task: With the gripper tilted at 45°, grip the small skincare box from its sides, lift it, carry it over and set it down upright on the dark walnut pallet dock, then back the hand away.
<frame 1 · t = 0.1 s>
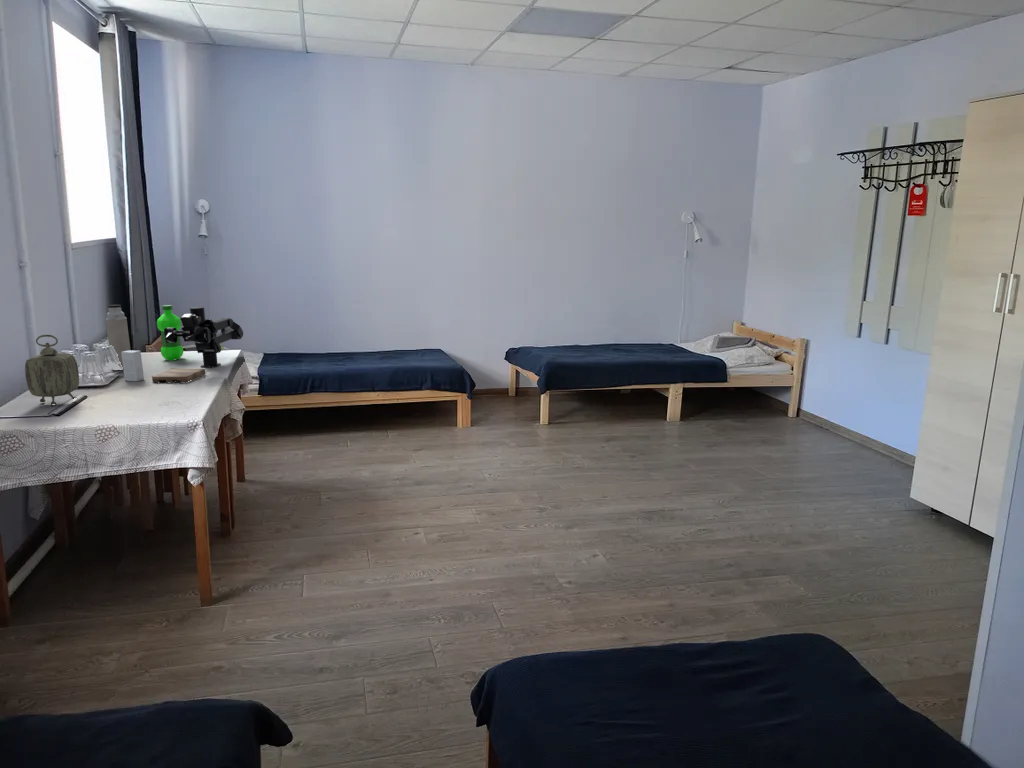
hand: (177, 338, 300), 17 cm above the table, tool horizontal, fingers open, 9 cm apart
plastic bottle: (173, 359, 344), on the table
pallet dock: (179, 378, 305), on the table
thermos bottle: (122, 369, 324), on the table
tabletop clock: (56, 404, 265), on the table
skincare box: (134, 380, 302), on the table
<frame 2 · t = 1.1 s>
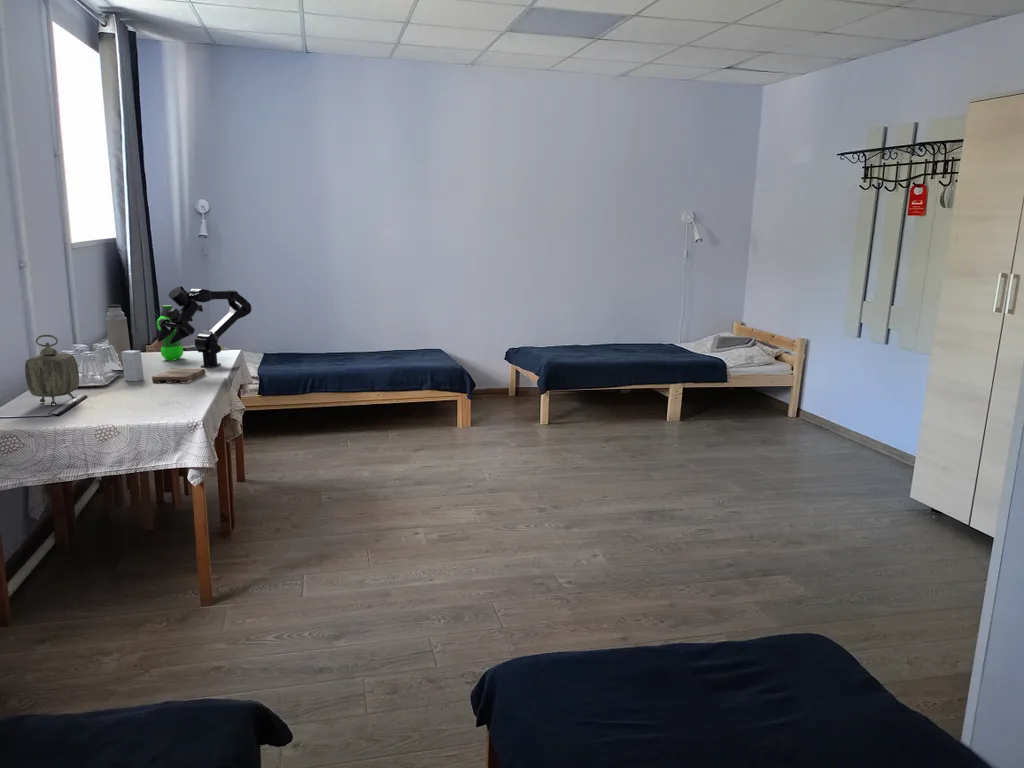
hand: (164, 342, 308), 14 cm above the table, tool tilted 45°, fingers open, 9 cm apart
nothing on the table moved.
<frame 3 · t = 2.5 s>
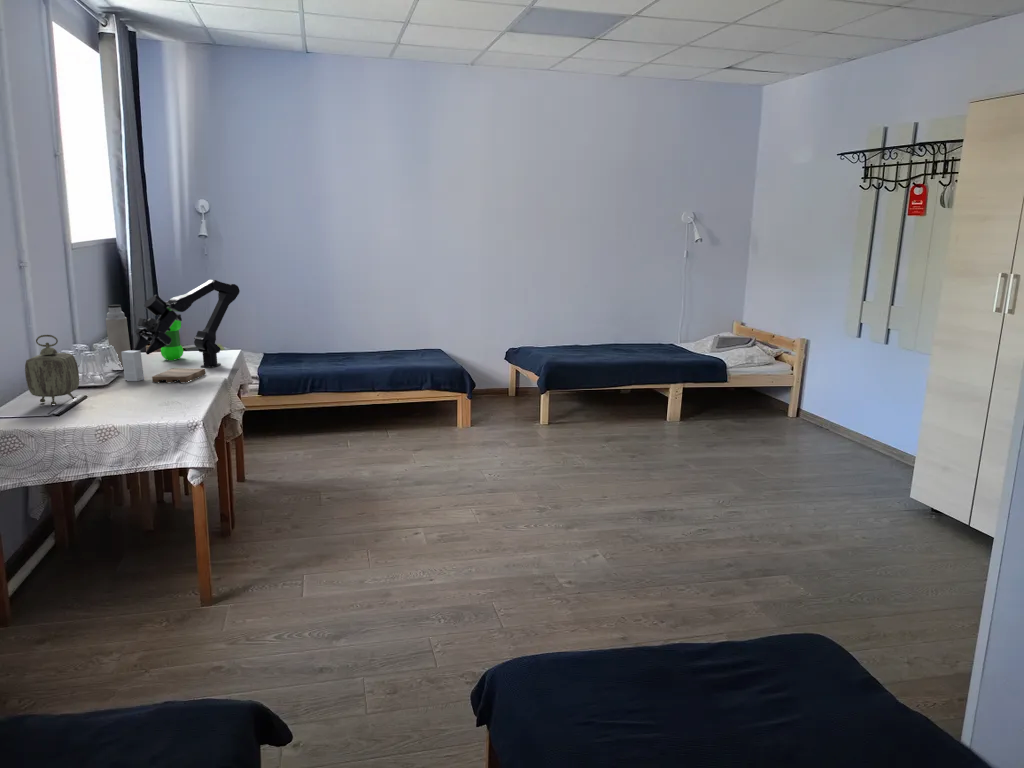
hand: (140, 352, 303), 11 cm above the table, tool tilted 45°, fingers open, 9 cm apart
nothing on the table moved.
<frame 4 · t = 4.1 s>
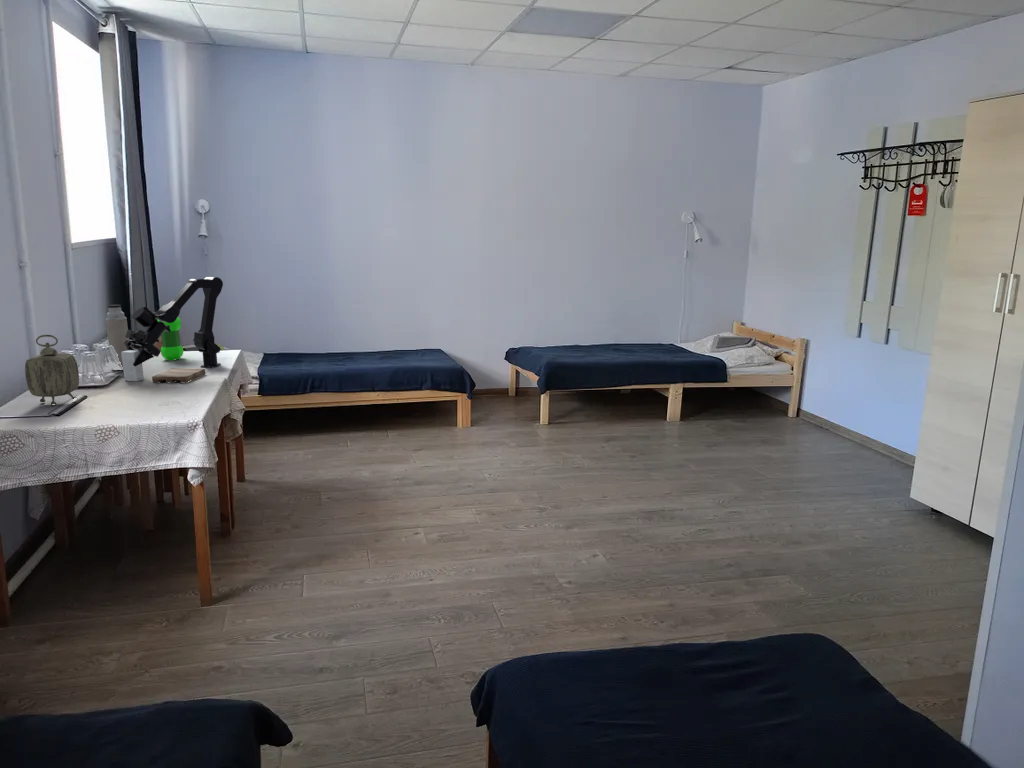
hand: (129, 364, 299), 7 cm above the table, tool tilted 45°, fingers closed on skincare box, 7 cm apart
skincare box: (134, 380, 302), on the table, touching gripper
everything else where it was.
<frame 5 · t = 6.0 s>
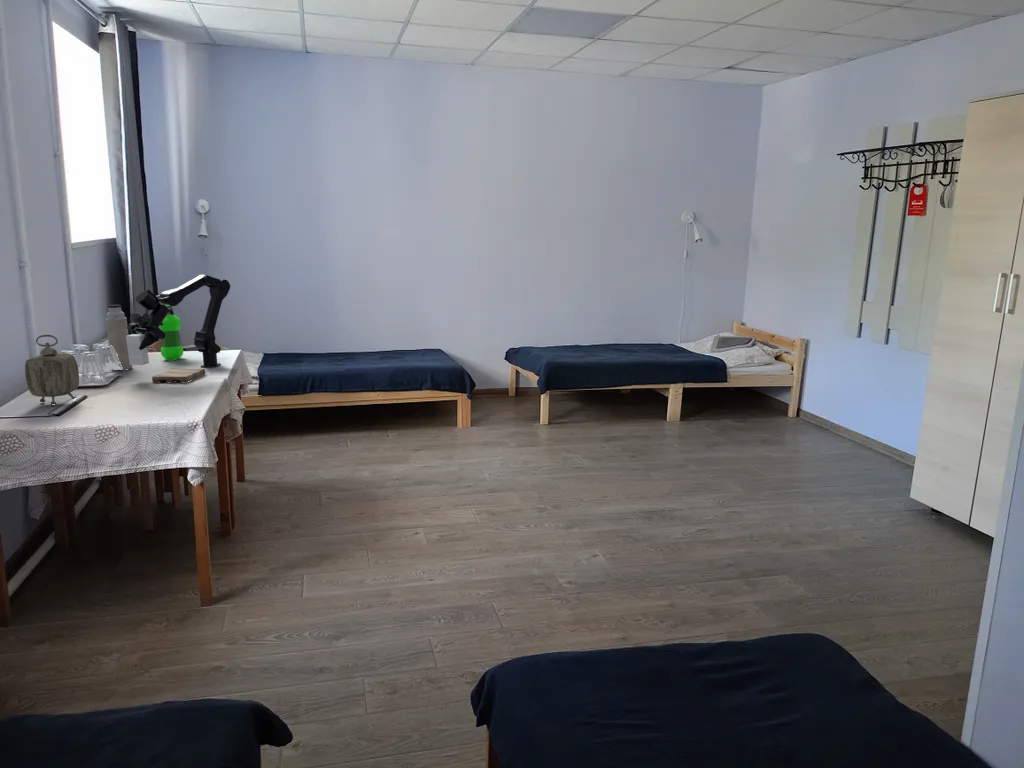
hand: (134, 348, 298), 13 cm above the table, tool tilted 45°, fingers closed on skincare box, 7 cm apart
skincare box: (139, 364, 301), point 6 cm above the table, touching gripper
everything else where it was.
when the fingers open (11 cm above the table, at t = 8.0 s): skincare box drops 1 cm, resting on pallet dock.
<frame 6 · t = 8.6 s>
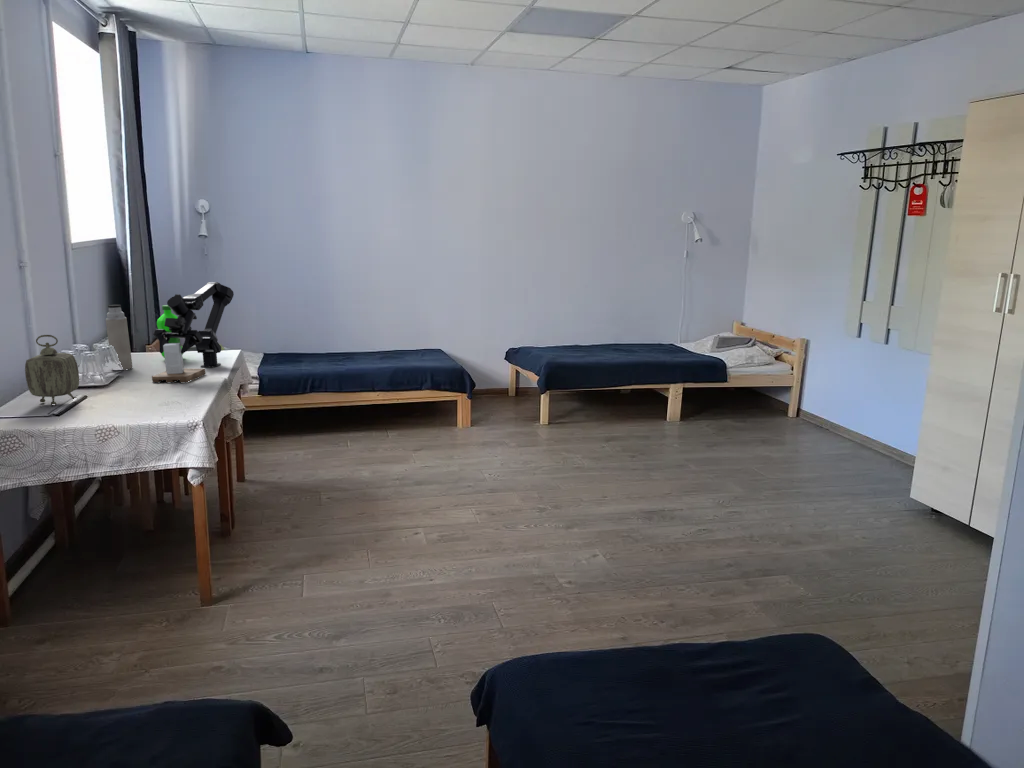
hand: (171, 353, 300), 11 cm above the table, tool tilted 45°, fingers open, 9 cm apart
skincare box: (175, 373, 303), point 2 cm above the table, touching pallet dock
everything else where it was.
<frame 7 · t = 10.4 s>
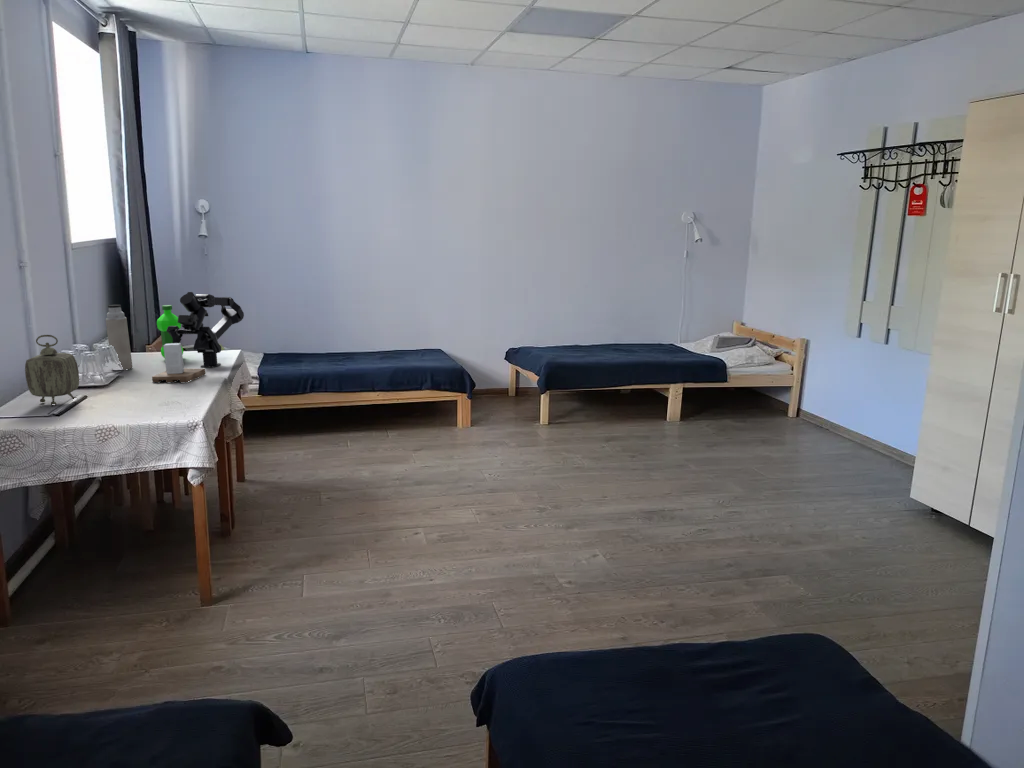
hand: (184, 348, 308), 11 cm above the table, tool tilted 45°, fingers open, 9 cm apart
nothing on the table moved.
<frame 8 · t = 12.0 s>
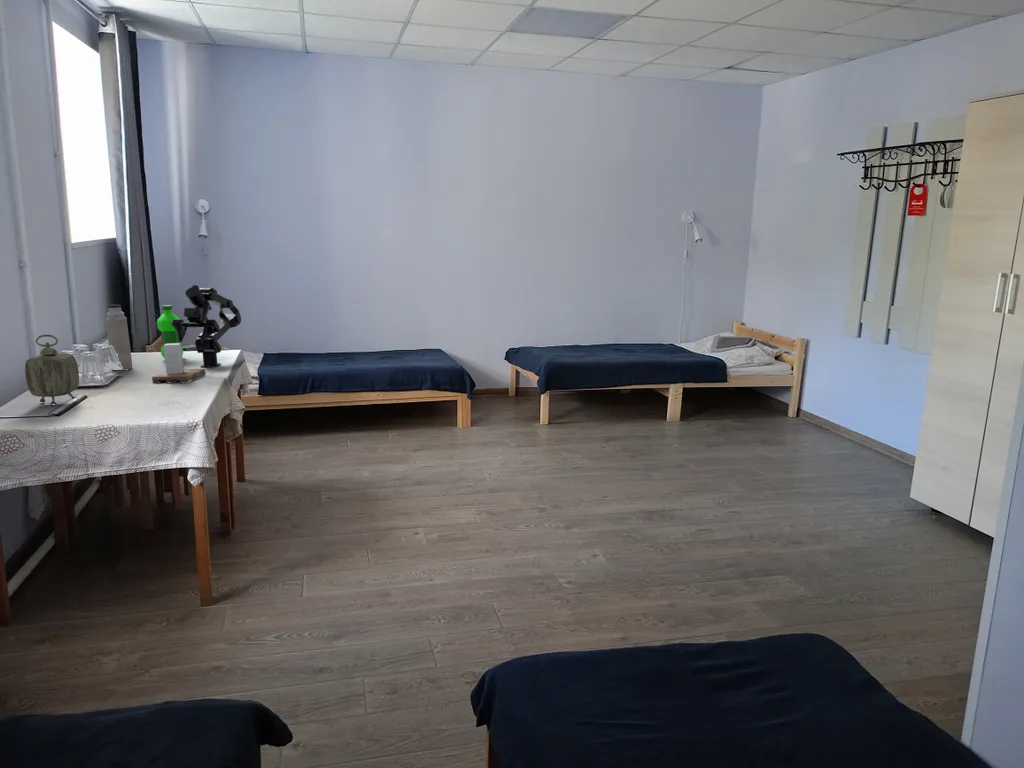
hand: (190, 341, 311), 14 cm above the table, tool tilted 45°, fingers open, 9 cm apart
nothing on the table moved.
at the end: skincare box inside the target area on the pallet dock (1.4 cm from its centre), point 2.3 cm above the pallet dock's base; skincare box tilted 0°; the gripper is holding nothing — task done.
